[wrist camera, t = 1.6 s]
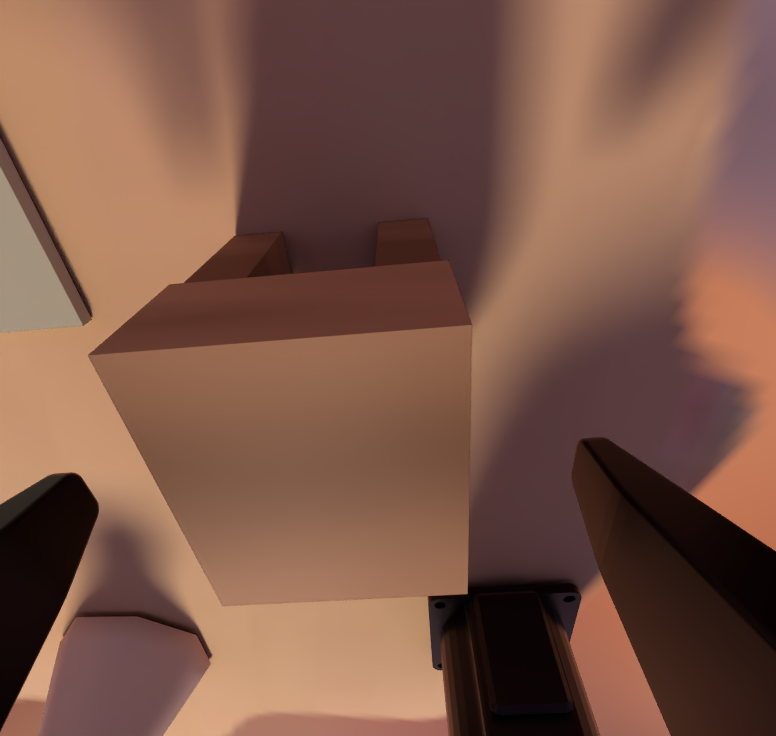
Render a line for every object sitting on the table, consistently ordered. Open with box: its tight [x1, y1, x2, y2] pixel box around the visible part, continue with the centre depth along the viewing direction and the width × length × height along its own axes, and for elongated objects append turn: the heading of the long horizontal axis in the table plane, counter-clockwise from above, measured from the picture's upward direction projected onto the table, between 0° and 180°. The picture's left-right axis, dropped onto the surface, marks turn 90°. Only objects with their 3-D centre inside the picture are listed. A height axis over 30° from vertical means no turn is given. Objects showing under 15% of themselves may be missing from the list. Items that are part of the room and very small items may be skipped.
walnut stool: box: [88, 218, 472, 606], centre depth 10 cm, size 6×5×6 cm
